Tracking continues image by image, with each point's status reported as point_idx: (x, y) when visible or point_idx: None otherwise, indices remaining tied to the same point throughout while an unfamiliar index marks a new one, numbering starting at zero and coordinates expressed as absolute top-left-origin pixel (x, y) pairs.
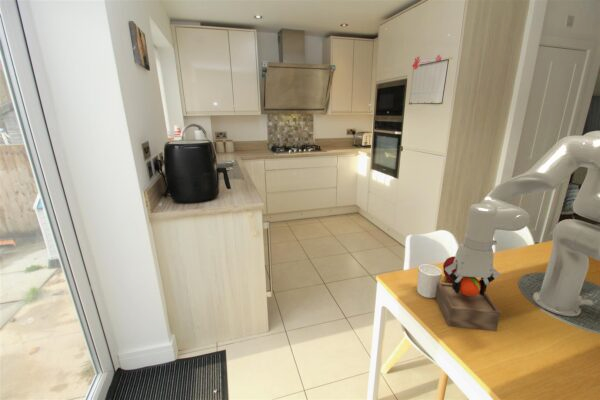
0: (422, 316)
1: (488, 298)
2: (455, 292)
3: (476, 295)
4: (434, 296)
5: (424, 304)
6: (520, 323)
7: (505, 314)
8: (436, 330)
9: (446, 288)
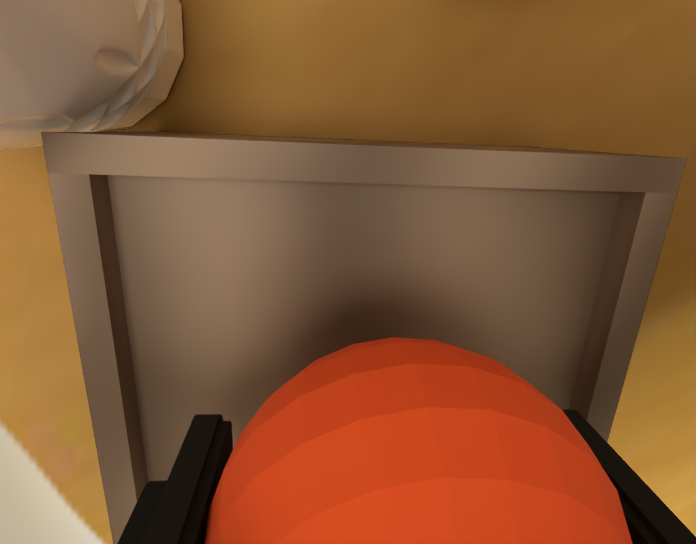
0: (9, 396)
1: (601, 419)
2: (281, 307)
3: (515, 329)
4: (146, 113)
5: (37, 242)
6: (693, 357)
7: (667, 278)
8: (98, 505)
9: (183, 232)
